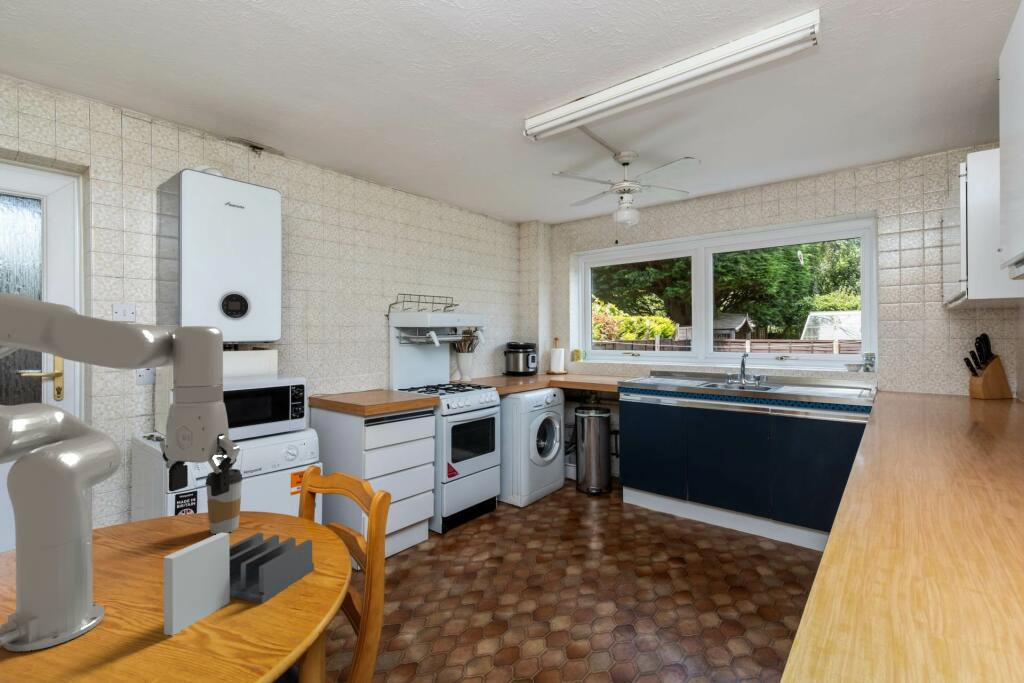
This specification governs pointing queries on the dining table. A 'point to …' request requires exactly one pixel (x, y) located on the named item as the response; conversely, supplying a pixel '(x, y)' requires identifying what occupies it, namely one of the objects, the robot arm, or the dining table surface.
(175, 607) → the plate
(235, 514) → the coffee cup
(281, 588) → the dish rack
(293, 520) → the dining table surface
